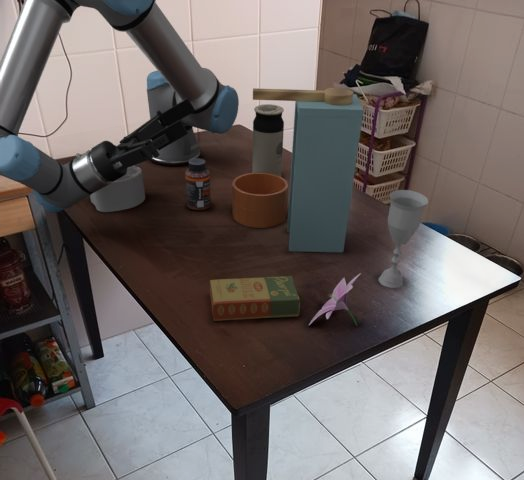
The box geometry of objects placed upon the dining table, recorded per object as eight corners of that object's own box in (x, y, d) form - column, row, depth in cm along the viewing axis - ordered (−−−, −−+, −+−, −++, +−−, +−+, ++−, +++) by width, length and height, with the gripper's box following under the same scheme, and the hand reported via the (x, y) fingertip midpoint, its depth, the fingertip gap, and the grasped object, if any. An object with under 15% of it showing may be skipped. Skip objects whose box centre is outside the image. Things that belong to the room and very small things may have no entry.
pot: (233, 202, 136) (233, 171, 131) (285, 204, 137) (286, 173, 132) (231, 227, 127) (231, 194, 121) (287, 228, 127) (289, 196, 122)
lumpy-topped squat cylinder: (87, 197, 136) (81, 163, 131) (137, 188, 141) (133, 155, 136) (100, 214, 130) (94, 179, 124) (151, 203, 135) (148, 169, 129)
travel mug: (246, 177, 149) (246, 108, 137) (265, 169, 153) (267, 101, 142) (268, 185, 145) (270, 115, 133) (287, 176, 150) (291, 108, 138)
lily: (347, 301, 107) (328, 261, 102) (393, 308, 97) (374, 265, 93) (308, 340, 103) (286, 301, 98) (352, 352, 93) (330, 310, 89)
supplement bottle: (207, 212, 132) (205, 167, 124) (183, 210, 133) (180, 164, 125) (213, 202, 136) (212, 157, 129) (191, 199, 137) (188, 155, 130)
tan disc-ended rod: (252, 102, 101) (252, 93, 100) (252, 94, 105) (253, 84, 104) (354, 105, 101) (355, 96, 100) (350, 97, 106) (351, 87, 104)
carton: (210, 296, 105) (209, 278, 102) (291, 292, 107) (292, 273, 104) (213, 322, 99) (212, 303, 96) (299, 317, 101) (301, 298, 98)
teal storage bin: (287, 229, 126) (296, 92, 107) (338, 230, 127) (356, 94, 107) (288, 251, 119) (298, 107, 99) (343, 252, 119) (363, 109, 100)
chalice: (367, 275, 112) (382, 192, 101) (394, 268, 115) (412, 187, 103) (386, 293, 107) (404, 209, 96) (415, 287, 109) (436, 203, 98)
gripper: (72, 174, 100) (167, 117, 93) (103, 129, 119) (184, 79, 112) (99, 208, 104) (191, 156, 97) (124, 159, 123) (203, 112, 117)
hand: (187, 114), depth 105 cm, fingers open, 13 cm apart
